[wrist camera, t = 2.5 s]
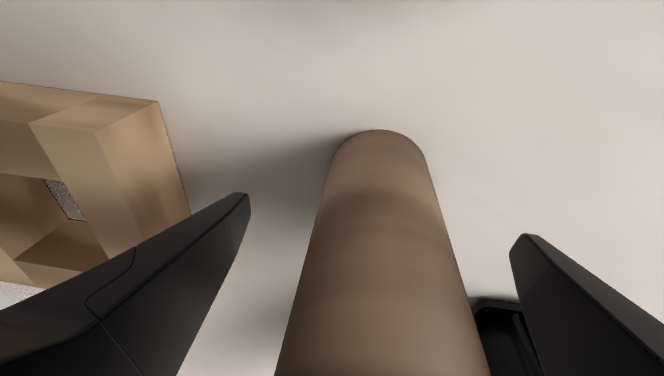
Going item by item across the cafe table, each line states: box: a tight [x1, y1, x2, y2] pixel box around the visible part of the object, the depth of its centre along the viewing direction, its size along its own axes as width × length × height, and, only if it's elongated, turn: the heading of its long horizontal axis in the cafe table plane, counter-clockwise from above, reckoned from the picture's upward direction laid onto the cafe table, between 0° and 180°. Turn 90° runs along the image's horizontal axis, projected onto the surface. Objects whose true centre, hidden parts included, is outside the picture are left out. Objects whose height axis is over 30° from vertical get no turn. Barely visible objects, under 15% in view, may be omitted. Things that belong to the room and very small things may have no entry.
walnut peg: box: [274, 130, 491, 376], centre depth 8 cm, size 4×4×8 cm
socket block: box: [0, 81, 191, 289], centre depth 13 cm, size 10×16×3 cm, turn 85°
